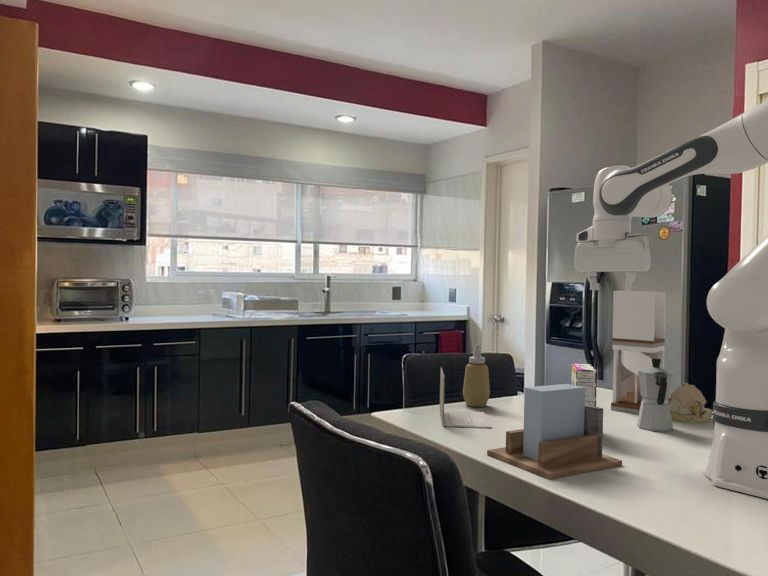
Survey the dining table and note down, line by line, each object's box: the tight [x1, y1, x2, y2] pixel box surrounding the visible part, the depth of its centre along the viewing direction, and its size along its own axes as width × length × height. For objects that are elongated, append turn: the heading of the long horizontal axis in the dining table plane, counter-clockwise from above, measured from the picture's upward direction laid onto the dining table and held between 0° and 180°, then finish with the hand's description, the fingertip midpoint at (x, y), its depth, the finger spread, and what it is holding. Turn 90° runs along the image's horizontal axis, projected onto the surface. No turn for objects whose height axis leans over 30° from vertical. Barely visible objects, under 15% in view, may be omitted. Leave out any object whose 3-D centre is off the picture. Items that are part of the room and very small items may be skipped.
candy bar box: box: [571, 363, 598, 407], centre depth 150 cm, size 11×5×16 cm, turn 168°
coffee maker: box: [636, 358, 675, 433], centre depth 156 cm, size 15×9×18 cm, turn 168°
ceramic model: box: [668, 381, 713, 424], centre depth 170 cm, size 14×11×10 cm
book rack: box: [486, 404, 623, 480], centre depth 126 cm, size 18×20×11 cm
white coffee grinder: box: [610, 290, 667, 415], centre depth 180 cm, size 11×11×35 cm
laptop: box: [439, 367, 493, 429], centre depth 162 cm, size 18×12×13 cm
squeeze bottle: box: [462, 344, 491, 408], centre depth 182 cm, size 8×8×18 cm
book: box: [523, 383, 585, 461], centre depth 126 cm, size 5×12×14 cm, turn 120°
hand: (610, 290), depth 148 cm, fingers open, 8 cm apart
